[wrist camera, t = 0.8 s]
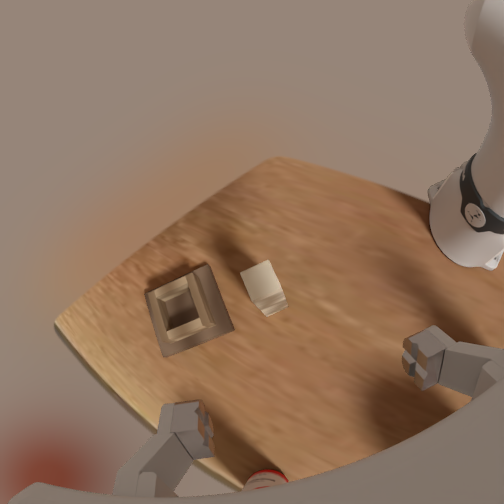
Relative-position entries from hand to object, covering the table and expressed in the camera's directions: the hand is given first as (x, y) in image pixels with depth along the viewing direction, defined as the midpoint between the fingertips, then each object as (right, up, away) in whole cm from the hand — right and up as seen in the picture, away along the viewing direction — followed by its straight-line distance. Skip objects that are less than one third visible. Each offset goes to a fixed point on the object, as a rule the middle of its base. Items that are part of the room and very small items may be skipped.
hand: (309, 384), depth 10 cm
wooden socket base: (-12, -4, +35) cm, 37 cm away
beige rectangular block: (+1, -2, +33) cm, 33 cm away
